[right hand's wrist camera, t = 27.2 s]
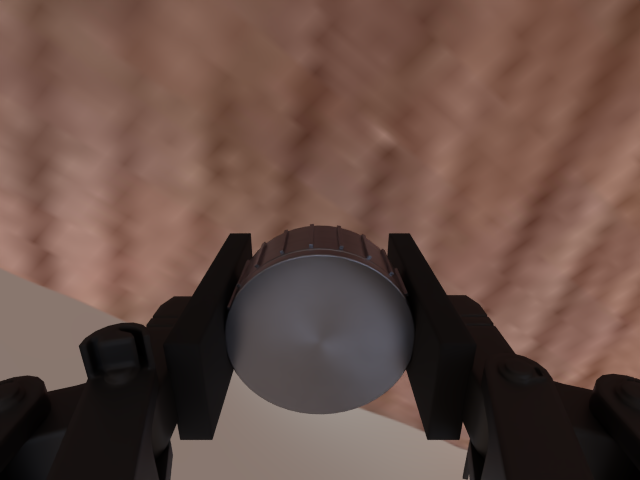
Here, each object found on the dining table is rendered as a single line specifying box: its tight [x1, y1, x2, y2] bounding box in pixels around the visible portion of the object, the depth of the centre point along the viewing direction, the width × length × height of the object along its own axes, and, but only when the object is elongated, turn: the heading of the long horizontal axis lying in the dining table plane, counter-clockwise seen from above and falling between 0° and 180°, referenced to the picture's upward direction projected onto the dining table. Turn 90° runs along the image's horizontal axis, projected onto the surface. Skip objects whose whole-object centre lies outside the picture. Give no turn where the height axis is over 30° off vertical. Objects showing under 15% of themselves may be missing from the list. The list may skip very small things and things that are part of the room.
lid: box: [224, 224, 415, 414], centre depth 11 cm, size 5×5×2 cm
